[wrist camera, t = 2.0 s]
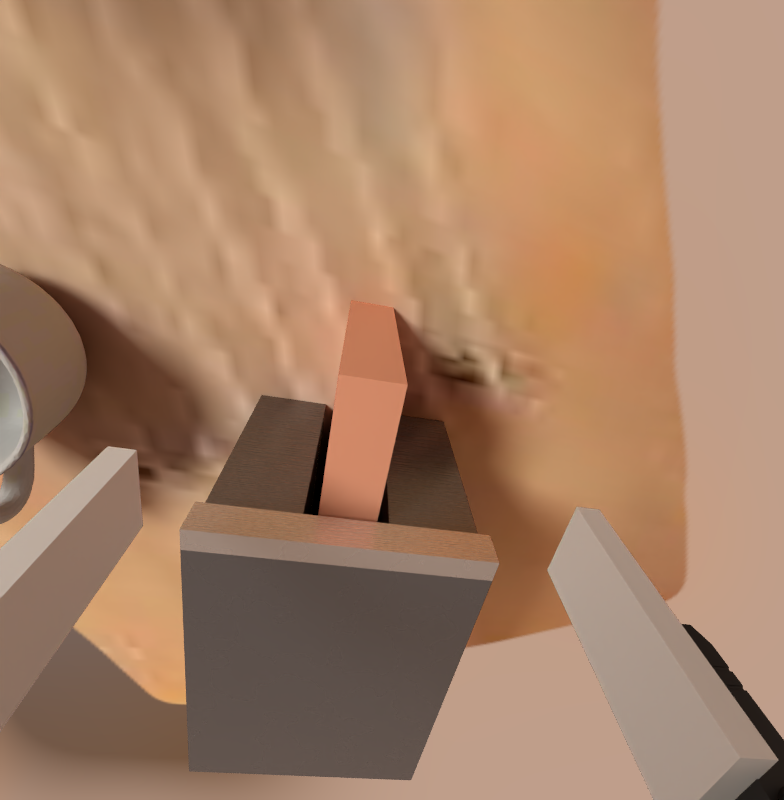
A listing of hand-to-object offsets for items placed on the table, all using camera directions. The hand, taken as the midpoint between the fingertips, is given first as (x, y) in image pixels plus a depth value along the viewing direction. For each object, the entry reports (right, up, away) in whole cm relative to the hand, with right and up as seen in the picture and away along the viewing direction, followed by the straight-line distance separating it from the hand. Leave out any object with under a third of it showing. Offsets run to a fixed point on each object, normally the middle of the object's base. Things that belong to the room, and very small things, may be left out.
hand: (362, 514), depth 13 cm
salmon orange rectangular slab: (-1, +4, +15) cm, 15 cm away
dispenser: (-3, -4, +19) cm, 19 cm away
